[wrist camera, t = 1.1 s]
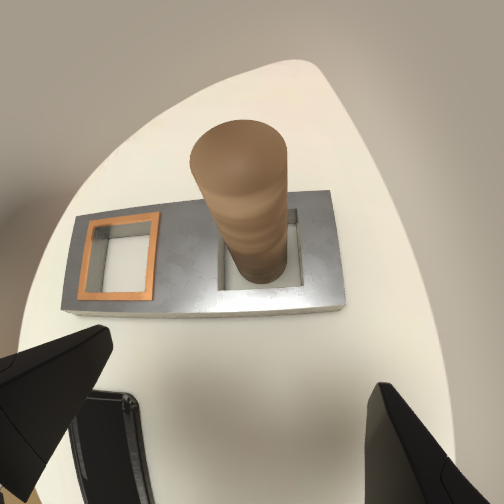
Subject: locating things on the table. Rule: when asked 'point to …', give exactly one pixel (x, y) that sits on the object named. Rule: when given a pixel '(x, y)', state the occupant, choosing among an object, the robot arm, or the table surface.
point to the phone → (110, 450)
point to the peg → (246, 193)
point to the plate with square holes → (200, 264)
